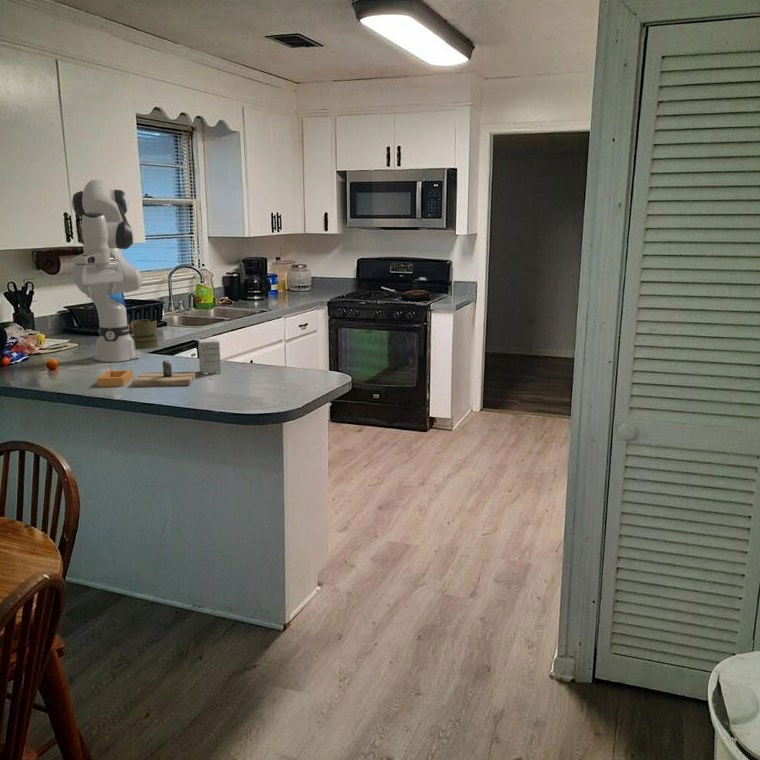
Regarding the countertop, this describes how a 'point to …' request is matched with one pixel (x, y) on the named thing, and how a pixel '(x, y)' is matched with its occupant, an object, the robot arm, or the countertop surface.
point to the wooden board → (164, 379)
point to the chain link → (115, 378)
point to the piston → (144, 333)
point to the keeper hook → (167, 369)
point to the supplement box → (209, 355)
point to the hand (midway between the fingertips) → (100, 296)
